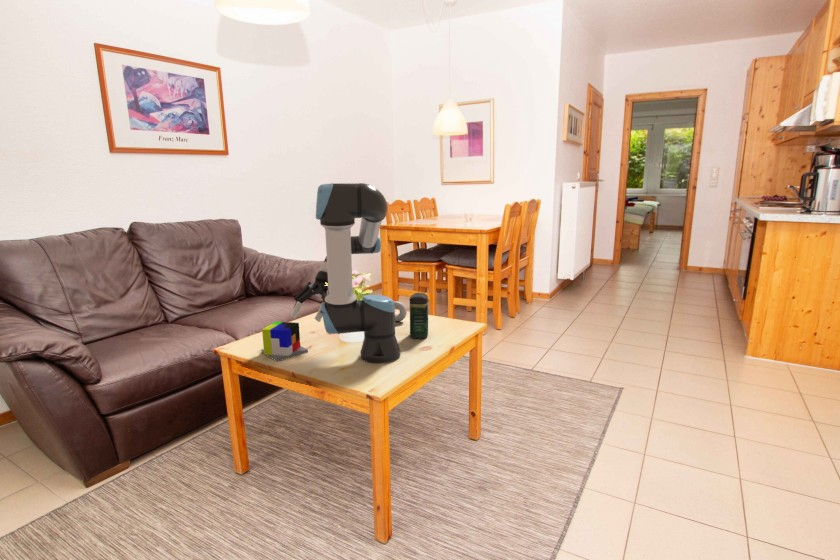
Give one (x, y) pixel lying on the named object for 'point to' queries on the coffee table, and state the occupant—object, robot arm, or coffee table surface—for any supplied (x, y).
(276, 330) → the puzzle toy
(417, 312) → the coffee jar
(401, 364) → the coffee table surface
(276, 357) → the slate board
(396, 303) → the donut
